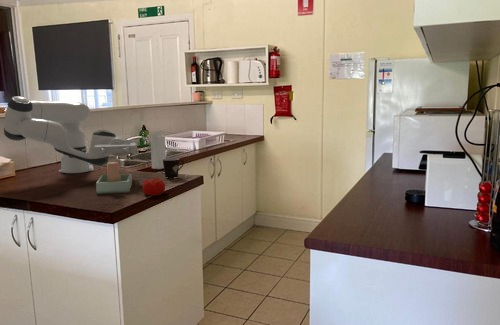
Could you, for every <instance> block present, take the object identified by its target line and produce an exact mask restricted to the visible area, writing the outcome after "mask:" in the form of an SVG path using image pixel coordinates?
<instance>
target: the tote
mask: <svg viewBox="0 0 500 325" xmlns="http://www.w3.org/2000/svg"><path fill="white" fill-rule="evenodd" d="M132 176H133V175H132V173H121V180H122V181H116V182H108V175H107V174H101V175H99V178H98V180H97V181H96V183H95V188H96V189H95V190H96V194H97V195H98V194H99V195H101V194H121V193H130V192H131V189H130V188H132V184H133V178H132Z"/></svg>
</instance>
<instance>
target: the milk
mask: <svg viewBox="0 0 500 325" xmlns="http://www.w3.org/2000/svg"><path fill="white" fill-rule="evenodd" d="M150 154H151V158H150V159H151V169H155V170H162V169H163V170H164V165H163V159H164V158H167V157H166V156H167V154H166V136H165V135H164V134H163V133H162V130H154V131H153V134H152V135H151V136H150Z"/></svg>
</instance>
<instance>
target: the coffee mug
mask: <svg viewBox="0 0 500 325" xmlns="http://www.w3.org/2000/svg"><path fill="white" fill-rule="evenodd" d="M180 162H182V164H181V166H180ZM163 165H164V168H163V172H164V177H168V178H174V177H178V178H179V171H180V170H181V169H182V168H183V167H184V160H182V159H180V158H178V157H166V158H164V159H163Z"/></svg>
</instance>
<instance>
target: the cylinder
mask: <svg viewBox="0 0 500 325" xmlns="http://www.w3.org/2000/svg"><path fill="white" fill-rule="evenodd" d="M106 171H107V173H106V175H108V182H116V181H119V165H118V162H109V163H108V162H107V163H106Z"/></svg>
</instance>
